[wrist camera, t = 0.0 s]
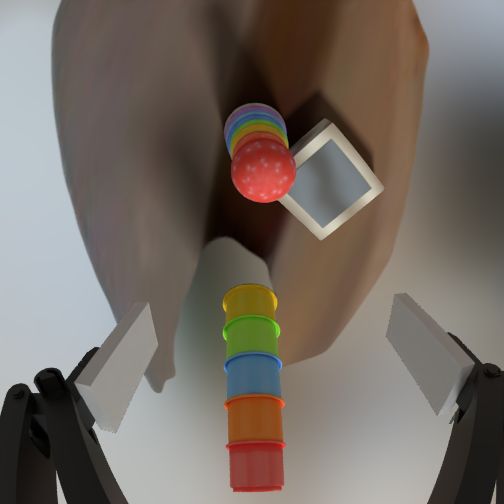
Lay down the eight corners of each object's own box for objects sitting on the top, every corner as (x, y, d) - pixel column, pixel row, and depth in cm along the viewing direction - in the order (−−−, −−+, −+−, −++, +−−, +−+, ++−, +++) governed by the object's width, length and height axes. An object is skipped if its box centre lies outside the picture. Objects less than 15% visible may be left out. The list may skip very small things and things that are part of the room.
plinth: (324, 117, 33) (332, 122, 29) (374, 178, 37) (385, 189, 34) (261, 175, 38) (262, 185, 34) (315, 226, 43) (321, 241, 39)
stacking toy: (238, 166, 37) (228, 242, 22) (215, 115, 33) (182, 150, 17) (293, 148, 35) (326, 211, 20) (273, 94, 31) (294, 108, 16)
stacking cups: (278, 281, 49) (296, 488, 21) (276, 318, 55) (286, 492, 27) (220, 281, 49) (201, 487, 21) (225, 319, 55) (213, 492, 27)
